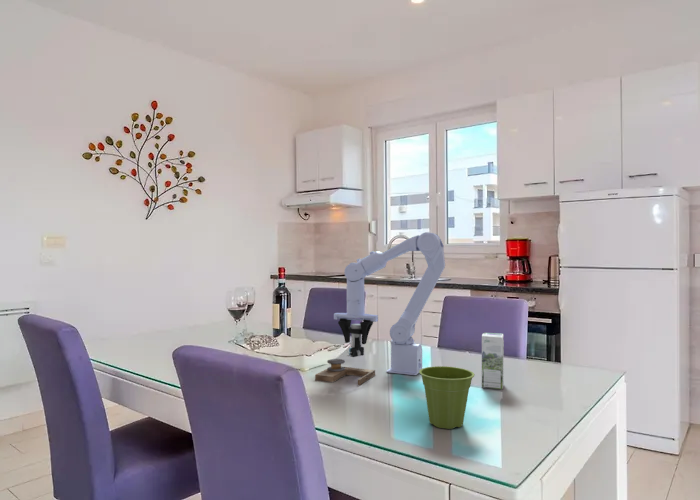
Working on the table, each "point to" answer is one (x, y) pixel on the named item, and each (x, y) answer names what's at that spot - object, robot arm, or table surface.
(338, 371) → the notched board
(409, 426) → the table surface
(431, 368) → the plant pot
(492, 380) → the syrup box
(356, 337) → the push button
